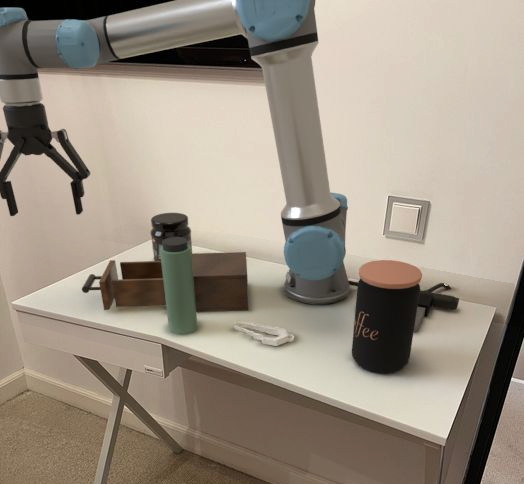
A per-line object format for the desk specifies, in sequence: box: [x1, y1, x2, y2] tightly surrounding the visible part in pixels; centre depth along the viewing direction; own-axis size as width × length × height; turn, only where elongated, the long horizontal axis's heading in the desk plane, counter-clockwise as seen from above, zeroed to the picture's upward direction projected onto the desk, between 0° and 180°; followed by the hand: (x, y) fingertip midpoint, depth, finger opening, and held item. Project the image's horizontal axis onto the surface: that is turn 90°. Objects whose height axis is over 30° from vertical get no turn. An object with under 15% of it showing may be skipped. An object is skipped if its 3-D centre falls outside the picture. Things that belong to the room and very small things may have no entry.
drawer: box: [81, 259, 166, 311], centre depth 122 cm, size 21×12×7 cm, turn 93°
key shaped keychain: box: [233, 320, 295, 347], centre depth 109 cm, size 13×5×2 cm, turn 69°
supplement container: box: [150, 212, 193, 261], centre depth 142 cm, size 10×10×12 cm
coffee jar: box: [351, 259, 423, 375], centre depth 97 cm, size 11×11×18 cm
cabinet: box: [192, 251, 249, 313], centre depth 123 cm, size 18×14×9 cm
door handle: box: [414, 289, 460, 333], centre depth 118 cm, size 3×20×16 cm
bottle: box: [160, 237, 199, 335], centre depth 108 cm, size 6×6×19 cm
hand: (47, 213), depth 113 cm, fingers open, 13 cm apart
